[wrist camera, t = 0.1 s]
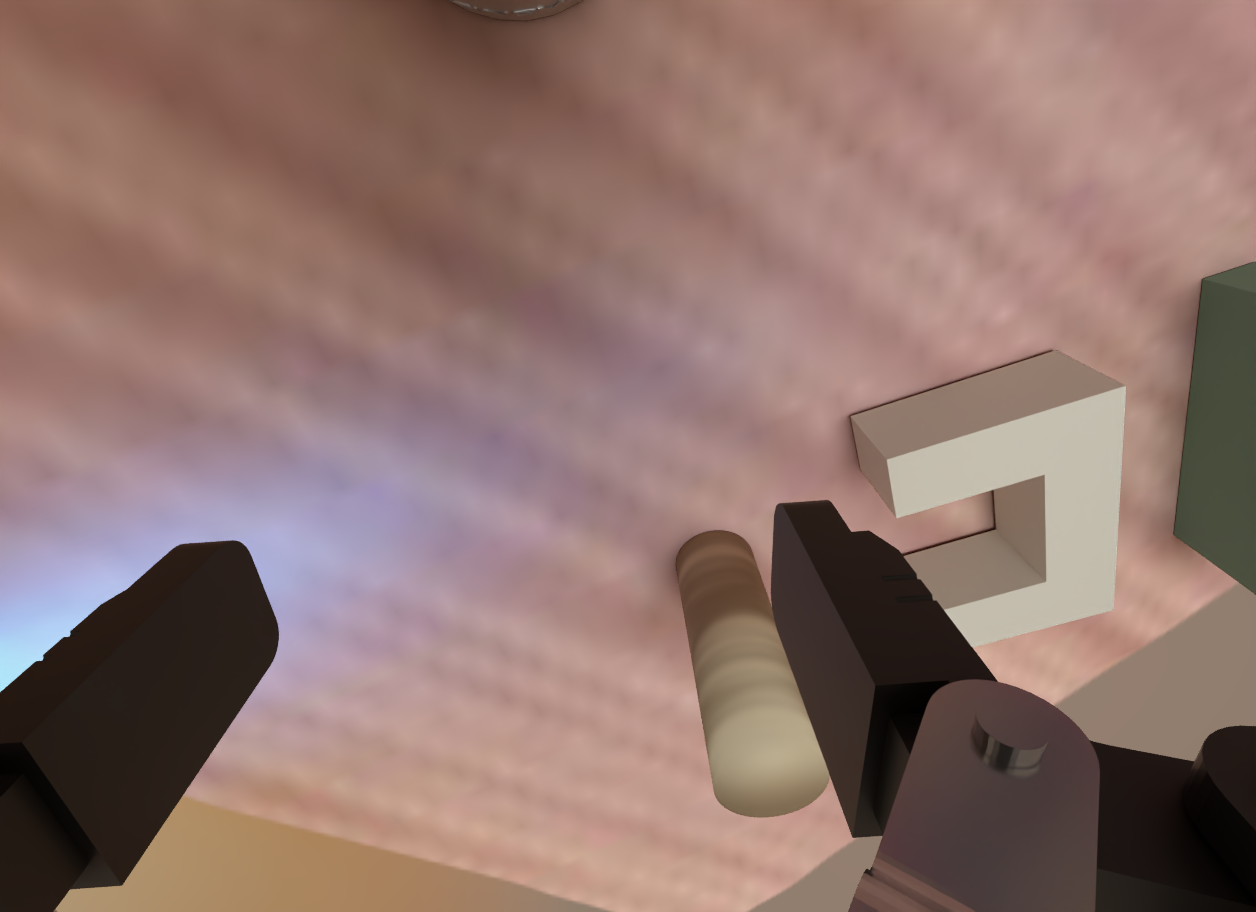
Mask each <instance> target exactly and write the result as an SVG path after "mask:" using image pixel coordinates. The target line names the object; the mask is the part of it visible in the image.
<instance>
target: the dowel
mask: <svg viewBox="0 0 1256 912" xmlns="http://www.w3.org/2000/svg"><path fill="white" fill-rule="evenodd" d="M676 570H677V576H678V582H679V588H680V594H681V600H682V606H683V611H684V617H685V623H686V629H687V635H688V641H689V647H690V653H691V659H692V665H693V670H694V676H695V682H696V688H697V694H698V700H699V706H700V712H701V718H702V724H703V729H704V735H705V741H706V747H707V753H708V759H709V765H710V771H711V777H712V783H713V789H714V794H715V796H716V798H717V800H718V801H719V803H720V804H721V805H722V806H724V807H725V808H726V809H728V810H730V811H732V812H734V813H737V814H740V815H744V816H749V817H774V816H780V815H785V814H788V813H792V812H794V811H797V810H799V809H801V808H804V807H805V806H807V805H809V804H810V803H812V802H813V801H815V800H816V799H817V798H818V797H819V796H820V795H821V794H822V793H823V791H824V790H825V788H826V786H827V784H828V781H829V771H828V769H827V766H826V763H825V760H824V758H823V755H822V752H821V750H820V747H819V744H818V741H817V739H816V736H815V733H814V730H813V728H812V725H811V722H810V719H809V717H808V714H807V711H806V708H805V706H804V703H803V700H802V697H801V695H800V692H799V689H798V686H797V684H796V681H795V678H794V675H793V673H792V670H791V667H790V664H789V662H788V659H787V656H786V653H785V651H784V648H783V645H782V642H781V640H780V637H779V634H778V631H777V628H776V625H775V621H774V616H773V610H772V607H771V604H770V601H769V598H768V595H767V592H766V589H765V587H764V584H763V581H762V578H761V575H760V572H759V570H758V567H757V564H756V561H755V558H754V555H753V552H752V550H751V547H750V546H749V544H748V543H747V542H746V541H745V540H744V539H743V538H742V537H740V536H739V535H737V534H734V533H731V532H727V531H709V532H705V533H702V534H699V535H697V536H695V537H693V538H692V539H690V540H689V541H688V542H686V543H685V544H684V545H683V547H682V548H681V549H680V551H679V553H678V556H677V559H676Z"/></svg>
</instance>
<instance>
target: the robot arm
mask: <svg viewBox="0 0 1256 912" xmlns="http://www.w3.org/2000/svg"><path fill="white" fill-rule="evenodd" d="M449 1H451V2H453V3H455V4H457V5H459V6H460V7H462V8H464V9H466V10H467V11H471V12H474V13H478V14H481V15H484V16H488V17H491V18H495V19H501V20H526V21H528V20H532V19H537V18H541V17H546V16H550V15H555V14H557V13H559V12H561V11H563V10H565V9H567V8H569V7H571V6H573V5H575V4H577V3H579V2H581V1H583V0H449ZM771 601H772V610H773V616H774V621H775V625H776V628H777V631H778V634H779V637H780V640H781V642H782V645H783V648H784V651H785V653H786V656H787V659H788V662H789V664H790V667H791V670H792V673H793V675H794V678H795V681H796V684H797V686H798V689H799V692H800V695H801V697H802V700H803V703H804V706H805V708H806V711H807V714H808V717H809V719H810V722H811V725H812V728H813V730H814V733H815V736H816V739H817V741H818V744H819V747H820V750H821V752H822V755H823V758H824V760H825V763H826V766H827V769H828V771H829V774H830V777H831V780H832V782H833V785H834V788H835V791H836V793H837V796H838V799H839V802H840V804H841V807H842V810H843V813H844V815H845V818H846V821H847V824H848V826H849V829H850V832H851V835H852V837H853V838H856V837H870V836H883V837H882V840H881V843H880V846H879V849H878V852H877V854H876V857H875V860H874V863H873V865H872V867H871V869H870V870H868V869H866V870H865V872H864V873H863V875H862V877H861V880H860V882H859V884H858V887H857V889H856V892H855V894H854V897H853V900H852V903H851V905H850V908H849V911H848V912H1256V726H1233V727H1226V728H1223V729H1219V730H1217V731H1215V732H1214V733H1212V734H1210V735H1209V736H1208V737H1207V739H1206V740H1205V741H1204V743H1203V745H1202V747H1201V750H1200V751H1199V753H1198V756H1197V758H1196V760H1195V762H1194V761H1188V760H1183V759H1178V758H1172V757H1168V756H1162V755H1157V754H1152V753H1147V752H1141V751H1136V750H1130V749H1126V748H1120V747H1115V746H1109V745H1105V744H1101V743H1097V742H1093V741H1090V740H1089V739H1088V738H1087V737H1086V735H1085V734H1084V733H1083V731H1082V730H1081V729H1080V728H1079V727H1078V726H1077V725H1076V724H1075V723H1074V722H1073V721H1072V720H1071V719H1070V718H1069V717H1068V716H1067V715H1065V714H1064V713H1063V712H1062V711H1060V710H1059V709H1058V708H1056V707H1055V706H1053V705H1052V704H1050V703H1048V702H1047V701H1045V700H1044V699H1042V698H1040V697H1038V696H1036V695H1034V694H1032V693H1030V692H1027V691H1025V690H1023V689H1020V688H1018V687H1014V686H1011V685H1008V684H1005V683H1000V682H998V681H997V680H996V678H995V677H994V676H993V674H992V673H991V672H990V670H989V669H988V668H987V666H986V665H985V664H984V662H983V661H982V660H981V658H980V657H979V656H978V654H977V653H976V652H975V651H974V649H973V648H972V647H971V645H970V644H969V643H968V641H967V640H966V639H965V637H964V636H963V635H962V633H961V632H960V631H959V629H958V628H957V627H956V625H955V624H954V623H953V621H952V620H951V619H950V617H949V616H948V615H947V613H946V612H945V611H944V609H943V608H942V607H941V606H940V604H939V603H938V602H937V600H933V598H932V594H931V592H930V591H929V590H928V588H927V587H926V586H925V584H924V583H923V582H922V580H921V579H917V574H916V572H915V571H914V570H913V568H912V567H911V566H910V564H909V563H908V562H907V560H906V559H905V558H904V557H903V555H902V554H901V553H900V551H899V550H898V549H896V548H895V547H893V546H892V545H890V544H889V543H887V542H886V541H884V540H883V539H881V538H879V537H878V536H876V535H875V534H873V533H872V532H870V531H857V532H851V531H850V529H849V528H848V526H847V525H846V523H845V522H844V520H843V519H842V517H841V516H840V514H839V513H838V511H837V510H836V508H835V507H834V505H833V504H832V503H831V502H830V501H829V500H821V501H807V502H793V503H779V504H778V505H777V506H776V509H775V514H774V531H773V552H772V574H771ZM70 633H71V634H70V637H63V638H62V639H61V640H60V641H59V642H58V643H57V644H55V645H54V646H53V647H52V648H51V649H50V650H48V651H47V652H46V653H45V654H44V655H43V656H44V658H43V660H42V661H36V662H35V663H33V664H32V665H31V666H30V667H29V668H28V669H27V670H25V671H24V672H23V673H22V674H21V675H20V676H19V677H17V678H16V679H15V680H14V681H13V682H12V683H10V684H9V685H8V686H7V687H6V688H5V689H4V690H2V691H1V692H0V912H57V911H56V910H55V909H56V907H57V906H58V905H59V903H60V902H61V901H62V899H63V898H64V897H65V895H66V894H67V893H68V891H69V890H70V889H80V888H94V887H108V886H121V885H123V883H124V882H125V880H126V879H127V877H128V876H129V874H130V873H131V871H132V870H133V868H134V867H135V865H136V864H137V863H138V861H139V860H140V858H141V857H142V855H143V854H144V852H145V851H146V849H147V848H148V846H149V845H150V843H151V842H152V840H153V839H154V837H155V836H156V834H157V833H158V831H159V830H160V828H161V827H162V825H163V824H164V822H165V821H166V820H167V818H168V817H169V815H170V814H171V812H172V810H173V809H174V808H175V806H176V805H177V803H178V802H179V800H180V799H181V797H182V796H183V794H184V793H185V791H186V790H187V788H188V787H189V785H190V784H191V782H192V781H193V779H194V778H195V776H196V775H197V774H198V772H199V771H200V769H201V768H202V766H203V765H204V763H205V762H206V760H207V759H208V757H209V756H210V754H211V753H212V751H213V750H214V748H215V747H216V745H217V744H218V742H219V741H220V739H221V738H222V736H223V735H224V733H225V732H226V730H227V729H228V728H229V726H230V725H231V723H232V722H233V720H234V719H235V717H236V716H237V714H238V713H239V711H240V710H241V708H242V707H243V705H244V704H245V702H246V701H247V699H248V698H249V696H250V695H251V693H252V692H253V690H254V689H255V687H256V686H257V684H258V683H259V681H260V680H261V679H262V677H263V676H264V674H265V673H266V671H267V670H268V668H269V667H270V665H271V663H272V662H273V660H274V657H275V655H276V651H277V647H278V640H279V630H278V624H277V620H276V617H275V615H274V612H273V610H272V607H271V605H270V602H269V600H268V597H267V595H266V592H265V590H264V587H263V584H262V582H261V579H260V577H259V574H258V572H257V569H256V567H255V564H254V562H253V559H252V557H251V554H250V552H249V550H248V549H247V547H246V546H245V545H244V544H242V543H241V542H238V541H218V542H204V543H189V544H181V545H179V546H176V547H175V548H173V549H172V550H171V551H170V552H169V553H168V554H166V555H165V556H164V557H163V558H162V559H161V560H160V561H158V562H157V563H156V564H155V565H154V566H153V567H152V568H151V569H149V570H148V571H147V572H146V573H145V574H144V575H143V576H141V577H140V578H139V579H138V580H137V581H136V582H135V583H134V584H132V585H131V586H130V587H129V588H128V589H127V590H125V591H123V592H122V593H120V594H118V595H116V596H115V597H113V598H111V599H110V600H108V601H106V602H105V603H103V604H101V605H100V606H99V607H98V608H97V609H96V610H94V611H93V612H92V613H91V614H90V615H89V616H88V617H86V618H85V619H84V620H83V621H82V622H81V623H80V624H78V625H77V626H76V627H75V628H74V629H73V630H71V631H70Z"/></svg>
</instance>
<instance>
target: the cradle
mask: <svg viewBox="0 0 1256 912" xmlns="http://www.w3.org/2000/svg"><path fill="white" fill-rule="evenodd" d="M1125 397H1126V385H1124V384H1122V383H1120V382H1118V381H1116V380H1114V379H1112V378H1110V377H1108V376H1106V375H1104V374H1102V373H1100V372H1098V371H1096V370H1094V369H1093V368H1091V367H1089V366H1087V365H1085V364H1083V363H1081V362H1079V361H1077V360H1075V359H1073V358H1071V357H1069V356H1067V355H1065V354H1063V353H1061V352H1059V351H1057V350H1055V351H1052V352H1049V353H1046V354H1043V355H1040V356H1037V357H1033V358H1030V359H1027V360H1024V361H1021V362H1018V363H1015V364H1012V365H1009V366H1005V367H1002V368H999V369H996V370H993V371H990V372H987V373H984V374H980V375H977V376H974V377H971V378H968V379H965V380H962V381H959V382H956V383H952V384H949V385H946V386H943V387H940V388H937V389H934V390H931V391H927V392H924V393H921V394H918V395H915V396H912V397H909V398H906V399H903V400H899V401H896V402H893V403H890V404H887V405H884V406H881V407H878V408H874V409H871V410H868V411H865V412H862V413H859V414H856V415H853V416H850V417H851V422H852V427H853V432H854V438H855V443H856V448H857V453H858V459H859V464H860V469H861V471H862V473H863V474H864V475H865V477H866V478H867V479H868V481H869V482H870V483H871V485H872V486H873V487H874V489H875V490H876V492H877V493H878V494H879V496H880V497H881V498H882V500H883V501H884V502H885V504H886V505H887V506H888V508H889V509H890V511H891V512H892V513H893V515H894V516H895V517H896V518H900V517H903V516H906V515H910V514H913V513H917V512H920V511H923V510H927V509H930V508H933V507H937V506H940V505H944V504H947V503H950V502H954V501H957V500H960V499H964V498H967V497H971V496H974V495H977V494H981V493H984V492H987V491H991V490H994V504H995V519H996V530H992V531H989V532H985V533H982V534H978V535H975V536H972V537H968V538H965V539H961V540H958V541H954V542H951V543H947V544H944V545H940V546H937V547H933V548H930V549H926V550H923V551H919V552H916V553H912V554H909V555H906V556H903V557H904V558H905V559H906V560H907V562H908V563H909V564H910V566H911V567H912V568H913V570H914V571H915V572H916V574H917V579H921V580H922V582H923V583H924V584H925V586H926V587H927V588H928V590H929V591H930V592H931V594H932V598H933V600H937V602H938V603H939V604H940V606H941V607H942V608H943V609H944V611H945V612H946V613H947V615H948V616H949V617H950V619H951V620H952V621H953V623H954V624H955V625H956V627H957V628H958V629H959V631H960V632H961V633H962V635H963V636H964V637H965V639H966V640H967V641H968V643H969V644H970V645H971V647H976V646H980V645H983V644H987V643H991V642H995V641H999V640H1002V639H1006V638H1010V637H1014V636H1017V635H1021V634H1025V633H1029V632H1033V631H1036V630H1040V629H1044V628H1048V627H1051V626H1055V625H1059V624H1063V623H1066V622H1070V621H1074V620H1078V619H1082V618H1085V617H1089V616H1093V615H1097V614H1100V613H1104V612H1108V611H1112V610H1113V608H1114V590H1115V573H1116V555H1117V538H1118V520H1119V502H1120V485H1121V467H1122V450H1123V432H1124V414H1125Z"/></svg>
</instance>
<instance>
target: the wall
mask: <svg viewBox="0 0 1256 912" xmlns="http://www.w3.org/2000/svg"><path fill="white" fill-rule="evenodd" d="M1174 535H1175V536H1176V537H1177V538H1179V539H1180V540H1181V541H1183V542H1184V543H1186V544H1187V545H1188V546H1190V547H1191V548H1192V549H1194V550H1195V551H1197V552H1198V553H1199V554H1201V555H1202V556H1203V557H1205V558H1206V559H1207V560H1209V561H1210V562H1212V563H1213V564H1214V565H1216V566H1217V567H1218V568H1220V569H1221V570H1223V571H1224V572H1225V573H1227V574H1228V575H1229V576H1231V577H1232V578H1233V579H1235V580H1236V581H1238V582H1239V583H1240V584H1242V585H1243V586H1244V587H1246V588H1247V589H1249V590H1250V591H1251V592H1253V593H1254V594H1255V595H1256V262H1253V263H1250V264H1247V265H1244V266H1241V267H1238V268H1234V269H1231V270H1228V271H1225V272H1222V273H1219V274H1216V275H1213V276H1210V277H1207V278H1204V279H1203V282H1202V291H1201V300H1200V308H1199V317H1198V326H1197V335H1196V344H1195V352H1194V361H1193V370H1192V379H1191V388H1190V396H1189V405H1188V414H1187V423H1186V432H1185V441H1184V449H1183V458H1182V467H1181V476H1180V485H1179V493H1178V502H1177V511H1176V520H1175V529H1174Z"/></svg>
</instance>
